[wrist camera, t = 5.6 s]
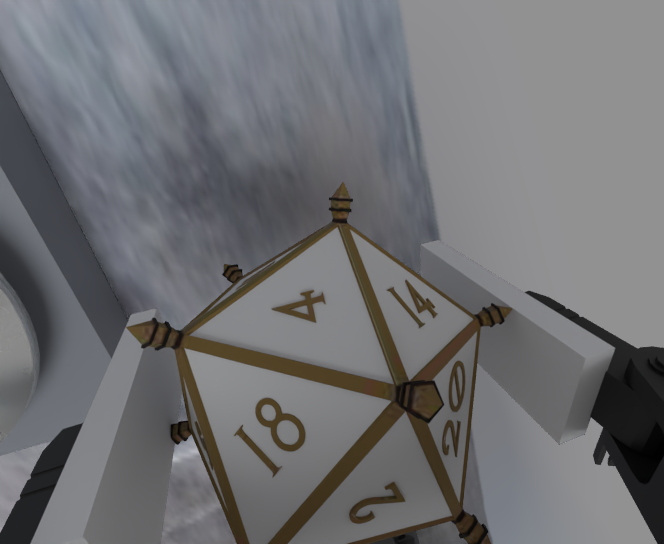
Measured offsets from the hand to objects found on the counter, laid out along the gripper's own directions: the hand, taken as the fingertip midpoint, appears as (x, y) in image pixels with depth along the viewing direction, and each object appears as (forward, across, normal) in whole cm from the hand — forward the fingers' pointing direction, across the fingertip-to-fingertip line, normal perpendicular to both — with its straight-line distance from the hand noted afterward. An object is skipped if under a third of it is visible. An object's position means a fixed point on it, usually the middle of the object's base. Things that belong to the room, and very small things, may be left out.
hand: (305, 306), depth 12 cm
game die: (+1, 0, 0) cm, 1 cm away
